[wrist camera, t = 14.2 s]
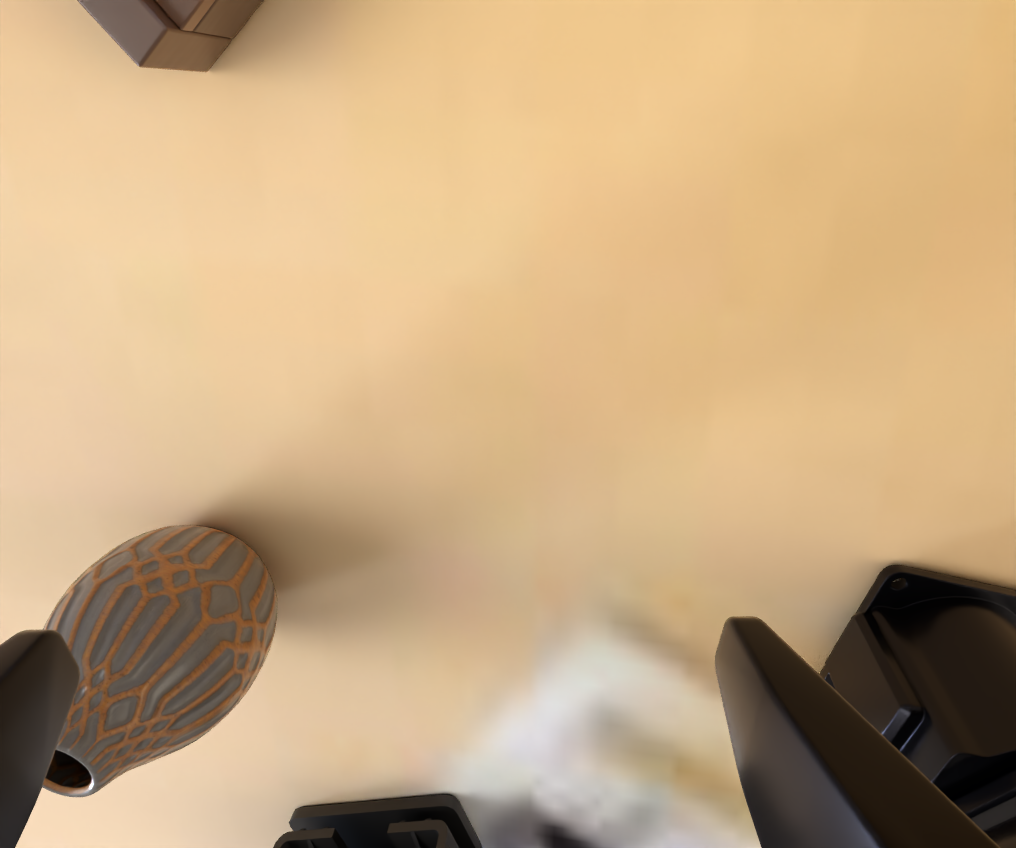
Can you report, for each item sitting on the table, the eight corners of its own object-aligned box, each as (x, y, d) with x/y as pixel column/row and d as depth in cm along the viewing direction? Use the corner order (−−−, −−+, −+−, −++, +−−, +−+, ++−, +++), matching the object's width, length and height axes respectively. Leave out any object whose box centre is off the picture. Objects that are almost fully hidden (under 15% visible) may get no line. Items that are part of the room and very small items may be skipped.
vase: (132, 476, 24) (-88, 655, 16) (309, 523, 24) (176, 725, 16) (138, 608, 27) (-42, 811, 19) (295, 649, 27) (178, 869, 19)
